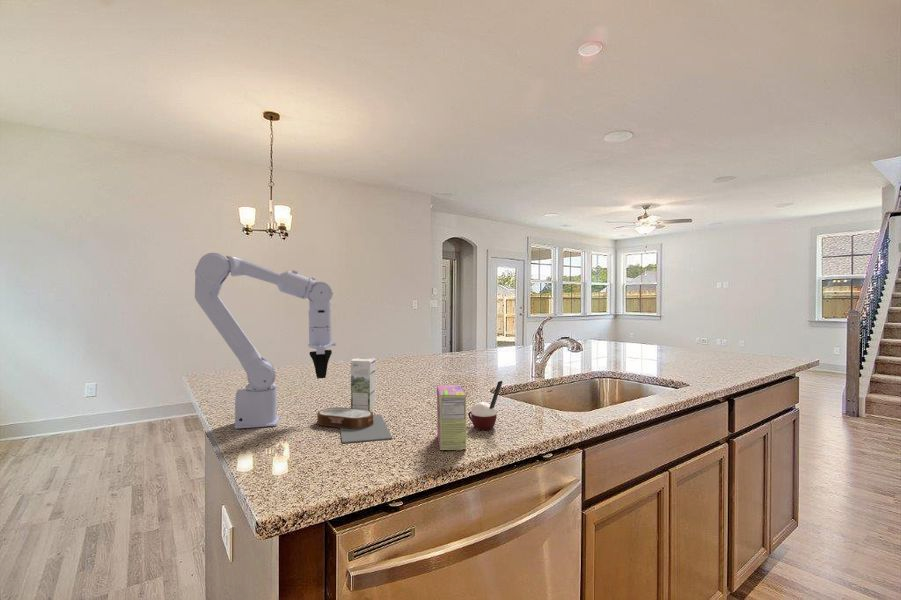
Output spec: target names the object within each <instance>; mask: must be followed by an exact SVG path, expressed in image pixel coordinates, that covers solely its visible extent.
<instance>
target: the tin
mask: <svg viewBox="0 0 901 600" xmlns="http://www.w3.org/2000/svg"><path fill="white" fill-rule="evenodd" d="M316 415H317V417H316V423H317V424H318V425H320V426H324V427H332V428H333V427H334V428H339V429H340V428H348V429H359V428H365V427H369V426H371V425H373V424H374V422H373V415H374V413H373V411H372V410H371V411H368V410H361V409H351V407H349V408H348V407H329V408H325V409H323V410H320V411H318V412H317V414H316Z"/></svg>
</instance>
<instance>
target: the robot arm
mask: <svg viewBox="0 0 901 600" xmlns="http://www.w3.org/2000/svg"><path fill="white" fill-rule="evenodd" d="M229 275H230V276H231V277H239V276H247V277H249V278H253V279H257V280H260V281H262V282H267V283H269V284H273V285H276V286H277V288H278V290H279V291H280V292H281V293H284V294H287V295H290V296H293V297H296V298H300V299H303V300H305V299H308V303H309V304H308V305H309V308H308V338H309V339H308V348H310V349H314V351H313V350H311V351H310V352H309V356H310V358H311V360H312V363H313V365H314V371H315V377H316V379H326V377H327V373H328V364H329V362H330V361H329V360H330V358H331V356H332V354H333V353H332V352H333V351H332V349H328V348H330V347H335V346H337V342H333V340H332V339H333V338H332V310H331V300H332V299H333V294H334V293H333V292H332V290H333V289H332V288H331V286H330V285H329V284H328V283H326V282H324V281H316V280H317V278H316V277H313V276H312V277H311V278H310V277H308V276H305V275H302V274H299V272H298V270H295V269H293V270H291V271H290V270H286V271H284V272H278V271H275V270H272V269H270V268H267V267H264V266H261V265H259V264H256V263H253V262H252V261H248V260H245V259H243V258H239V257H234V256H229V255H225V256H224V255H222V254H220V253H218V252H208V253H206V254H204V255H202V257H200V259H199V261H198V262H197V265H196V268H195V269H194V276H195V277H194V278H195V279H194V281H195V282H194V298H195V299H194V300H196V302H197V303H198V305H199V307H200V308H201V309H202V311H203V312H204V313H205V315H206V316H207V318H208V319H209V320H210V321H211V323H212V325H213V326H214V328H216V330H217V331H218V333H219V335H220V336H221V337H222V339H223V340H224V341H225V343H226V344H227V346H228V347H229V348H230V349H231V351H232V353H233V354H234V355H235V357H236V358H237V359H238V361H239V363H240V365H241V368H243V370H244V371H245V372H246V375H247V382H248V384H247V385H246V386H245V388H239V389H237V390H236V392H235V397H234V401H235V402H234V429H235V430H237V429H245V428H246V429H249V428H252V429H253V428H261V427H263V428H264V427H274V426H275V427H276V426H277V425H278V422H279V419H280V415H277V411H278V409H277V408H278V407H277V397H278V396H277V394H278V393H277V389H278V388H277V384H276V383H275V381H276V371H275V368H274V364H273V363H272V362H271V361H269V360H267V359H265V358H264V357H263V356H262V354H261V353H260V352H259V351H258V350H257V348H256V347H255V345H254V344H253V343H252V342H251V340H250V338H249V337H248V335H247V334H246V332H244V330H243V329H242V327H241V325H240V324H239V323H238V321H237V320H236V319H235V318H234V317H235V316H233V314H232V313H231V311H230V310H229V309H228V307H227V306H226V305H225V303H224V302H223V300H222V299H221V297H220V292H221V291H222V286H223V283H224V282H225V280H226V279H227V277H229Z"/></svg>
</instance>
